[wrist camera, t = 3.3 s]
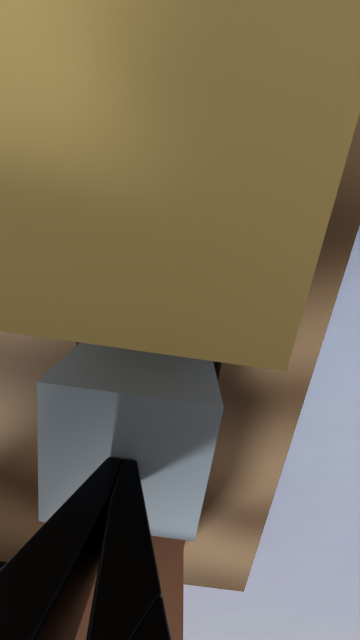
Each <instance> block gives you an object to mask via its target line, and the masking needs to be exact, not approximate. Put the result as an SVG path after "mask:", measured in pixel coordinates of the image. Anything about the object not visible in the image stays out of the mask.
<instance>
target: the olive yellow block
mask: <svg viewBox="0 0 360 640" xmlns="http://www.w3.org/2000/svg"><path fill="white" fill-rule="evenodd" d="M359 114H360V0H0V331H2V332H9V333H16V334H23V335H30V336H37V337H44V338H51V339H59V340H66V341H73V342H80V343H87V344H94V345H101V346H108V347H115V348H123V349H130V350H137V351H144V352H151V353H158V354H165V355H172V356H179V357H187V358H194V359H201V360H208V361H215V362H222V363H229V364H236V365H243V366H251V367H258V368H265V369H272V370H279V371H287V367H288V364H289V360H290V357H291V353H292V350H293V346H294V343H295V339H296V336H297V332H298V329H299V325H300V321H301V318H302V314H303V311H304V307H305V304H306V300H307V297H308V293H309V290H310V286H311V283H312V279H313V276H314V272H315V269H316V265H317V262H318V258H319V255H320V251H321V248H322V244H323V240H324V237H325V233H326V230H327V226H328V223H329V219H330V216H331V212H332V209H333V205H334V202H335V198H336V195H337V191H338V188H339V184H340V181H341V177H342V174H343V170H344V166H345V163H346V159H347V156H348V152H349V149H350V145H351V142H352V138H353V135H354V131H355V128H356V124H357V121H358V117H359Z"/></svg>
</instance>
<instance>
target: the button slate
mask: <svg viewBox="0 0 360 640" xmlns="http://www.w3.org/2000/svg"><path fill="white" fill-rule="evenodd" d="M223 409H224V406H223V401H222V397H221V393H220V389H219V385H218V380H217V376H216V372H215V368H214V363H213V361H208V360H201V359H194V358H187V357H179V356H172V355H165V354H158V353H151V352H144V351H137V350H130V349H123V348H115V347H108V346H101V345H94V344H87V343H79V344H78V345H77V346H76V347H75V348H74V349H72V350H71V351H70V352H69V353H68V354H67V355H66V356H65V357H64V358H62V359H61V360H60V361H59V362H58V363H57V364H56V365H55V366H54V367H53V368H51V369H50V370H49V371H48V372H47V373H46V374H45V375H44V376H43V377H42V378H40V379H39V380H38V381H37V430H38V507H39V521H40V522H46V521H47V520H48V519H49V518H50V517H51V516H52V515H53V514H54V513H55V512H56V511H57V510H58V509H59V508H60V507H61V506H62V505H63V504H64V503H65V502H66V500H67V499H68V498H69V497H70V496H71V495H72V494H73V493H74V492H75V491H76V490H77V489H78V488H79V487H80V486H81V485H82V484H83V483H84V482H85V481H86V480H87V479H88V478H89V476H90V475H91V474H92V473H93V472H94V471H95V470H96V469H97V468H98V467H99V466H100V465H101V464H102V463H103V462H104V461H105V460H106V459H107V458H108V457H118V458H121V459H122V461H123V459H133V460H136V461H137V463H138V469H139V474H140V479H141V484H142V490H143V495H144V500H145V506H146V511H147V516H148V521H149V527H150V532H151V536H157V537H165V538H173V539H181V540H189V541H195V537H196V533H197V528H198V523H199V519H200V514H201V510H202V505H203V501H204V496H205V491H206V487H207V482H208V478H209V473H210V469H211V464H212V460H213V455H214V450H215V446H216V441H217V437H218V432H219V428H220V423H221V418H222V414H223Z"/></svg>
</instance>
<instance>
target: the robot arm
mask: <svg viewBox="0 0 360 640" xmlns="http://www.w3.org/2000/svg"><path fill="white" fill-rule="evenodd" d="M96 575H97V577H96ZM95 578H96V583H95V589H94V595H93V601H92V607H91V613H90V619H89V625H88V631H87V637H86V640H172V639H171V635H170V630H169V625H168V621H167V615H166V610H165V605H164V600H163V597H162V590H161V585H160V580H159V574H158V569H157V564H156V558H155V553H154V548H153V543H152V537H151V532H150V527H149V521H148V516H147V511H146V506H145V500H144V495H143V490H142V484H141V479H140V474H139V469H138V463H137V461H136V460H133V459H123V461H122V459H121V458H118V457H108V458H107V459H106V460H105V461H104V462H103V463H102V464H101V465H100V466H99V467H98V468H97V469H96V470H95V471H94V472H93V473H92V474H91V475H90V476H89V478H88V479H87V480H86V481H85V482H84V483H83V484H82V485H81V486H80V487H79V488H78V489H77V490H76V491H75V492H74V493H73V494H72V495H71V496H70V497H69V498H68V499H67V500H66V502H65V503H64V504H63V505H62V506H61V507H60V508H59V509H58V510H57V511H56V512H55V513H54V514H53V515H52V516H51V517H50V518H49V519H48V520H47V521H46V522H45V523H44V524H43V526H42V527H41V528H40V529H39V530H38V531H37V532H36V533H35V534H34V535H33V536H32V537H31V538H30V539H29V540H28V541H27V542H26V543H25V544H24V545H23V546H22V547H21V548H20V550H19V551H18V552H17V553H16V554H15V555H14V556H13V557H12V558H11V559H10V560H9V561H8V562H2V561H0V640H75V638H76V635H77V632H78V629H79V626H80V623H81V620H82V617H83V614H84V611H85V608H86V605H87V602H88V599H89V596H90V593H91V590H92V587H93V584H94V581H95Z"/></svg>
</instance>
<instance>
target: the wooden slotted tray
mask: <svg viewBox="0 0 360 640" xmlns="http://www.w3.org/2000/svg"><path fill="white" fill-rule="evenodd" d="M359 225H360V114H359V117H358V121H357V124H356V128H355V131H354V135H353V138H352V142H351V145H350V149H349V152H348V156H347V159H346V163H345V166H344V170H343V174H342V177H341V181H340V184H339V188H338V191H337V195H336V198H335V202H334V205H333V209H332V212H331V216H330V219H329V223H328V226H327V230H326V233H325V237H324V240H323V244H322V248H321V251H320V255H319V258H318V262H317V265H316V269H315V272H314V276H313V279H312V283H311V286H310V290H309V293H308V297H307V300H306V304H305V307H304V311H303V314H302V318H301V321H300V325H299V329H298V332H297V336H296V339H295V343H294V346H293V350H292V353H291V357H290V360H289V364H288V367H287V371H279V370H272V369H265V368H258V367H251V366H243V365H236V364H229V363H222V362H215V361H213V363H214V368H215V372H216V376H217V380H218V385H219V389H220V393H221V397H222V401H223V406H224V409H223V414H222V418H221V423H220V428H219V432H218V437H217V441H216V446H215V450H214V455H213V460H212V464H211V469H210V473H209V478H208V482H207V487H206V491H205V496H204V501H203V505H202V510H201V514H200V519H199V523H198V528H197V533H196V537H195V541H189V540H184V567H183V584H187V585H195V586H203V587H211V588H219V589H227V590H235V591H243V592H244V589H245V586H246V583H247V579H248V576H249V573H250V570H251V567H252V564H253V560H254V557H255V554H256V551H257V548H258V545H259V541H260V538H261V535H262V532H263V529H264V526H265V522H266V519H267V516H268V513H269V510H270V507H271V503H272V500H273V497H274V494H275V491H276V488H277V484H278V481H279V478H280V475H281V472H282V469H283V465H284V462H285V459H286V456H287V453H288V450H289V446H290V443H291V440H292V437H293V434H294V431H295V427H296V424H297V421H298V418H299V415H300V412H301V408H302V405H303V402H304V399H305V396H306V393H307V389H308V386H309V383H310V380H311V377H312V374H313V370H314V367H315V364H316V361H317V358H318V355H319V352H320V348H321V345H322V342H323V339H324V336H325V333H326V329H327V326H328V323H329V320H330V317H331V314H332V310H333V307H334V304H335V301H336V298H337V295H338V291H339V288H340V285H341V282H342V279H343V276H344V272H345V269H346V266H347V263H348V260H349V257H350V253H351V250H352V247H353V244H354V241H355V238H356V234H357V231H358V228H359ZM79 343H80V342H73V341H66V340H59V339H51V338H44V337H37V336H30V335H23V334H16V333H9V332H2V331H0V561H2V562H8V561H9V560H10V559H11V558H12V557H13V556H14V555H15V554H16V553H17V552H18V551H19V550H20V548H21V547H22V546H23V545H24V544H25V543H26V542H27V541H28V540H29V539H30V538H31V537H32V536H33V535H34V534H35V533H36V532H37V531H38V530H39V529H40V528H41V527H42V526H43V524H44V523H45V522H40V521H39V507H38V430H37V381H38V380H39V379H40V378H42V377H43V376H44V375H45V374H46V373H47V372H48V371H49V370H50V369H51V368H53V367H54V366H55V365H56V364H57V363H58V362H59V361H60V360H61V359H62V358H64V357H65V356H66V355H67V354H68V353H69V352H70V351H71V350H72V349H74V348H75V347H76V346H77V345H78V344H79Z"/></svg>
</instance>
